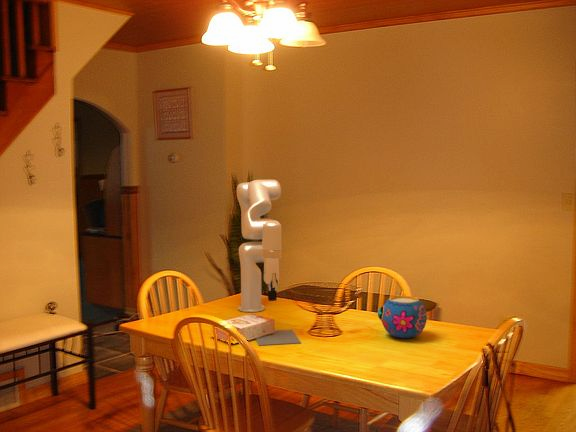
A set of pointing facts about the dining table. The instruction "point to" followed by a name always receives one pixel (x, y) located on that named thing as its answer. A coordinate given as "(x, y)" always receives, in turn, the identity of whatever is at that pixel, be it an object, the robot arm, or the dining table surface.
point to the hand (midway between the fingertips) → (272, 300)
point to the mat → (278, 338)
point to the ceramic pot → (403, 316)
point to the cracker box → (249, 327)
